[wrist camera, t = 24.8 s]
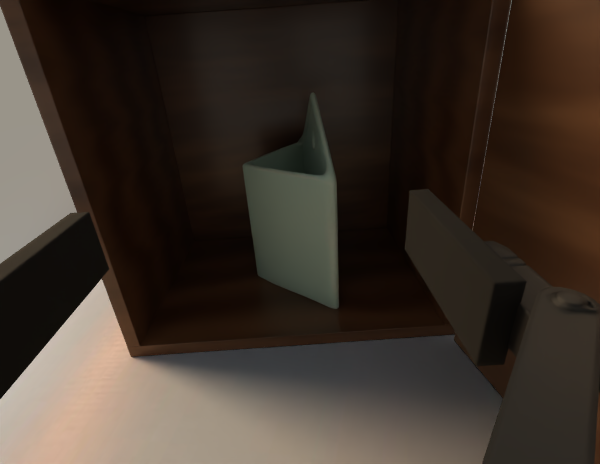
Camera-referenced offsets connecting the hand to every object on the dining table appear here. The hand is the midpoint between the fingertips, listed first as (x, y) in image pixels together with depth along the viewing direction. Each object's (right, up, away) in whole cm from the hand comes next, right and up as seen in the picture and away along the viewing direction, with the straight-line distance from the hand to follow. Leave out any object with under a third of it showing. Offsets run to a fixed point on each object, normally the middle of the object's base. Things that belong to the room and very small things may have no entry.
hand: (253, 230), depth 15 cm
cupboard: (+1, -6, +28) cm, 29 cm away
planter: (+1, -5, +28) cm, 28 cm away
